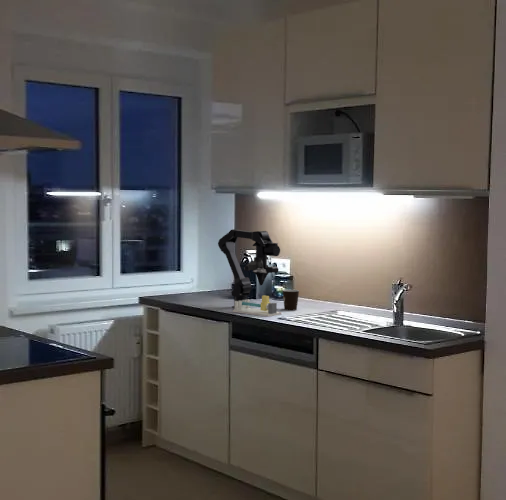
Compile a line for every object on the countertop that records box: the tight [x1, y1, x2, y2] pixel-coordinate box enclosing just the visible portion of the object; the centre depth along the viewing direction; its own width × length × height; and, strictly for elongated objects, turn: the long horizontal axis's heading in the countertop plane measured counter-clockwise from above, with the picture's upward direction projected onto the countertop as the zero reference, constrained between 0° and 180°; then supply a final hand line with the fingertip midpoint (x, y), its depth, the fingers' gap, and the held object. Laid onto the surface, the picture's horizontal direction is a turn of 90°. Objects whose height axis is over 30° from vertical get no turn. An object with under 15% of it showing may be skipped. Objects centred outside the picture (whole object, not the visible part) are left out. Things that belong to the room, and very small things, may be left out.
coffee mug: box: [282, 289, 300, 311], centre depth 422 cm, size 12×9×10 cm
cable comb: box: [232, 298, 282, 317], centre depth 407 cm, size 23×11×6 cm, turn 50°
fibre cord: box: [242, 302, 278, 314], centre depth 407 cm, size 22×4×5 cm, turn 50°
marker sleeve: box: [260, 295, 271, 311], centre depth 404 cm, size 3×4×7 cm
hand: (261, 285), depth 417 cm, fingers closed
